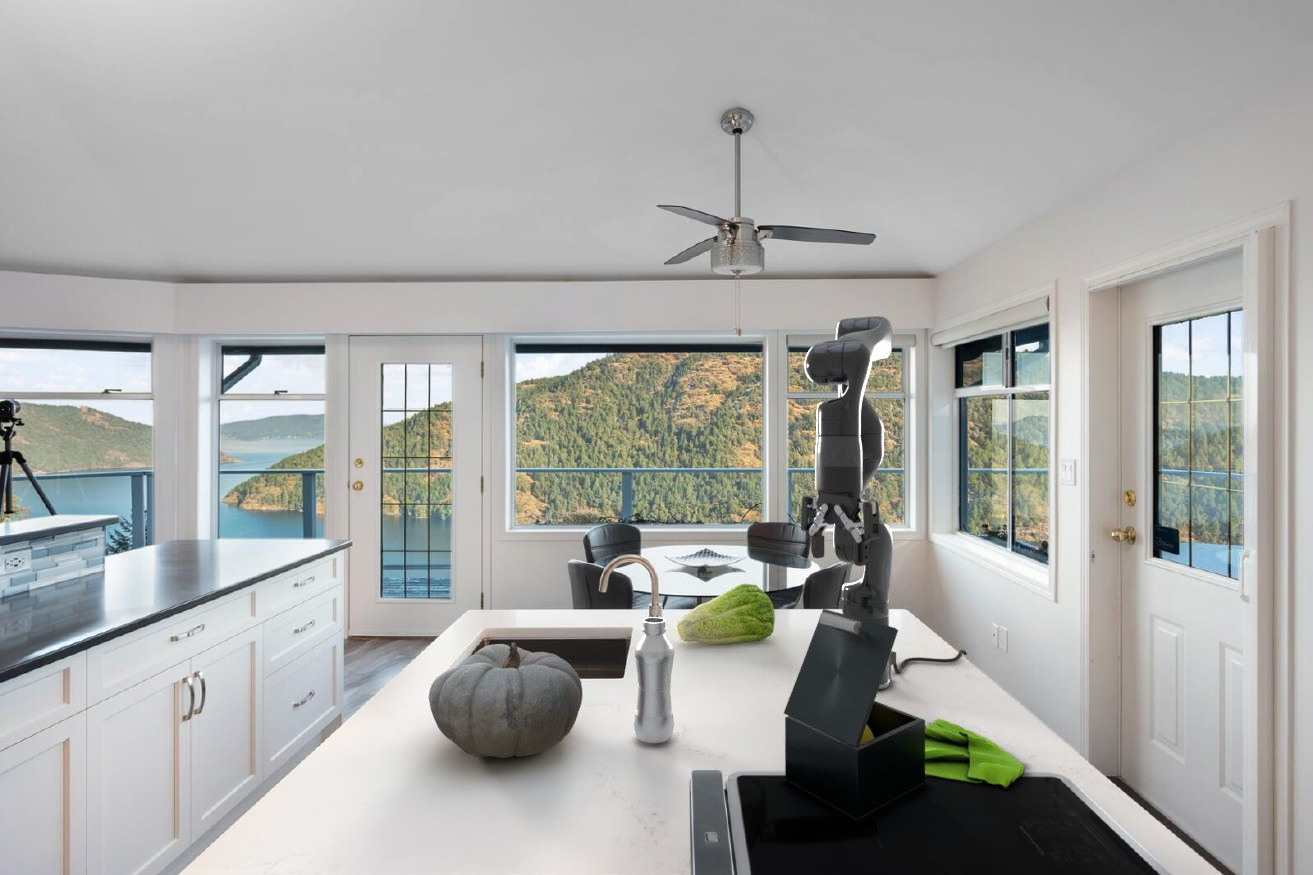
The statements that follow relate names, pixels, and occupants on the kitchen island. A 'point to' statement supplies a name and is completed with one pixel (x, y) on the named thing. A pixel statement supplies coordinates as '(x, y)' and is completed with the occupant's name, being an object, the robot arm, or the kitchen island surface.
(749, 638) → the lettuce
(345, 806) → the kitchen island surface
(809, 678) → the caddy lid
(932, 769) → the cloth
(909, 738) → the box
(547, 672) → the gourd
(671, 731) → the silver bottle
